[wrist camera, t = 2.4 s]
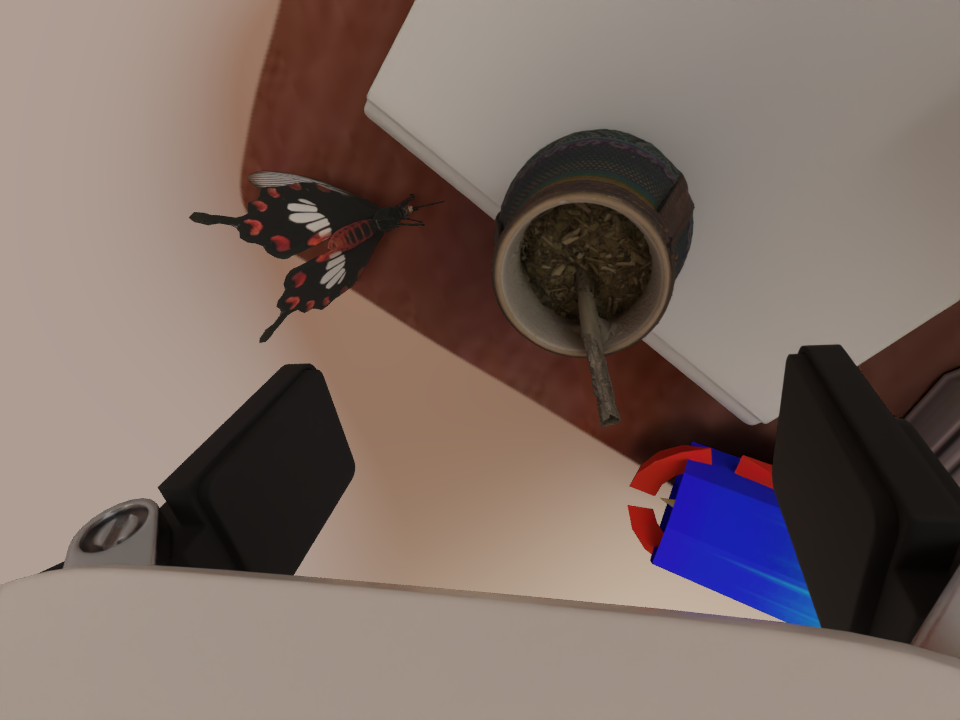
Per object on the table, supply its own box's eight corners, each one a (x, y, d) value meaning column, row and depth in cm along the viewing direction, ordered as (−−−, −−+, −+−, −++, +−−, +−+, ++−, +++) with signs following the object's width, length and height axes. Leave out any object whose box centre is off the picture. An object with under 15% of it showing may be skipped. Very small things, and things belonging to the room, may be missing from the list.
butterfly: (140, 261, 20) (158, 247, 28) (312, 396, 24) (282, 347, 32) (345, 65, 21) (303, 108, 30) (473, 224, 25) (403, 221, 34)
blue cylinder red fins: (815, 744, 26) (580, 626, 30) (809, 564, 35) (629, 493, 39) (949, 596, 20) (628, 473, 24) (898, 425, 29) (673, 358, 33)
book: (674, -507, 13) (1228, 128, 17) (665, -402, 16) (1132, 113, 20) (352, 121, 23) (745, 438, 27) (385, 111, 26) (732, 395, 30)
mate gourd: (642, 77, 20) (648, 105, 11) (718, 251, 22) (767, 378, 14) (483, 175, 23) (397, 252, 15) (564, 318, 25) (530, 452, 17)
